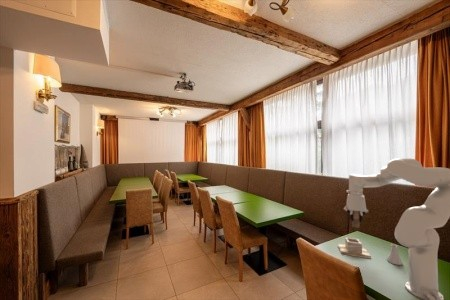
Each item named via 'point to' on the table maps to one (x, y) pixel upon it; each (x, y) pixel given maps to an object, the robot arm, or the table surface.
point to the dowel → (355, 219)
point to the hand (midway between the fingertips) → (355, 220)
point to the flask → (394, 256)
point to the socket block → (353, 248)
